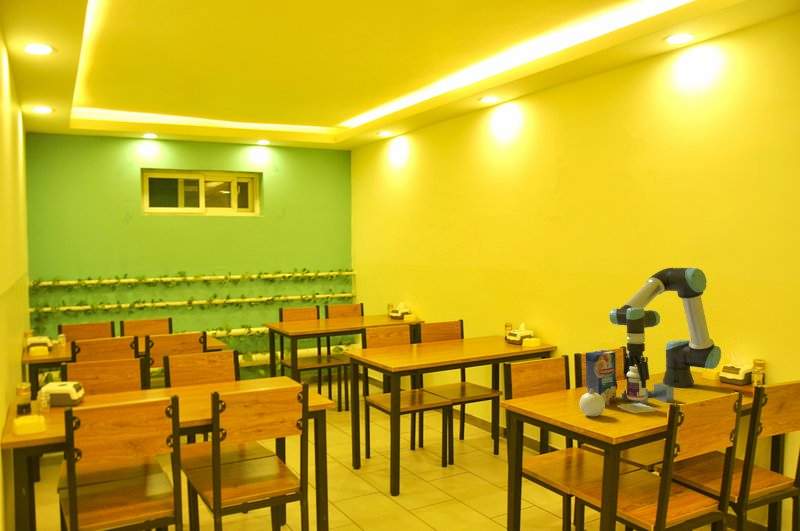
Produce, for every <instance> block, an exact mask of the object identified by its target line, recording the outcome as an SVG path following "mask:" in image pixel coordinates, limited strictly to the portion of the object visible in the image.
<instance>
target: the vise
mask: <svg viewBox="0 0 800 531" xmlns="http://www.w3.org/2000/svg"><path fill="white" fill-rule="evenodd" d="M674 389H675V388H674V387H672V386H669V385H666V384H663V382H662V383H660V382H659V383H658V382H657V383H653V389H652V390H649V389H648V388H646V398H645V399H644V400H631V399H628V398H627V389H623V392H621V399H623V401H624V402H626V401H629V402H631V403H632V404H636V403H641V404H644V405H649V398H653V399H655V400H658V401H660V402H664V403H674V402H675V396H674V395H675V394H674V393H675V392H674V391H675V390H674Z"/></svg>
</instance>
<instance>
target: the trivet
mask: <svg viewBox="0 0 800 531" xmlns="http://www.w3.org/2000/svg"><path fill="white" fill-rule="evenodd" d="M616 407H617V408H618V409H621V410H624V411H625V412H628V413H629V412H630V413H631V414H640V413H649V412H657V410H658V408H655V407H652V406H649V405H648V404H646V405H644V404H641V403H626V404H617V405H616Z"/></svg>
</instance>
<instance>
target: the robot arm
mask: <svg viewBox="0 0 800 531" xmlns="http://www.w3.org/2000/svg"><path fill="white" fill-rule="evenodd" d="M707 283H708V282H707V278H706V274H705V273H704V271H703V270H702V269H700V268H698V267H668V268H667V267H666V268H663V269H661V270H659V271H656V273H654V274H652V275H651V276H650V277H649V278H648V279H647V280H646V281H645V284H644V285H643V286H642V287H641V288H640V289H639V290H638V291H637V292H636V293H635V294H634V295H633V296H631V297H630V299H628V300H627V301H626V302H625V303H624V304H623V305H622V306H621V307H620V308H613V309H611V310H610V312H609V321H610V323H611V324H612V325H618V326H626V341H627V343H626V350H627V351H628V352H626V353H624V361H623V362H624V363H623V364H624V365H623V372H622V373H623V375H625V376H626V377H627V373H628V372H629V371H630V366H637V368H638V372H639V376H640V380H639V395H646V389H647V381H649V380H650V373H649V364H648V362H649V358H648V356H644V352H645V350H646V347H645V346H646V344H645V342H646V338H645V337H646V336H645V335H646V334H645V329H647V328H654V327H656V326H658V325H659V324H660V322H661V316H660V313H658V311H656V310H653V309H652V310H651V309H648V310H645V308H646V307H647V306H648V305H649V304H650V303H651V302H652V301H653V300H654V299H655V298H657V296H660V295H662V294H663V293H664V292H676V293H677V297H678V298H679V299H681V301H682V304H683V308H684V314H685V319H686V324H687V327H688V332H689V337H690V339H689V340H688V339H681V340H680V339H679V340H671V341H668V342H666V344H665V372H664V375H663V378H662V384H666V385H669V386H672V387H675V388H692V387H694V386H695V381H694V378H693V375H692V372H691V367H694V368H701V369H706V370H707V369H711V370H713V369H715V368H717V367H718V366H719V365H720V362H721V358H722V350H721V348H720V347H719V346H718V345H715V341H714V340H713V338H710V333H709V328H708V324H707V320H706V315H705V310H704V305H703V300H702V295H703V294H704V292H705V291H706V288H707Z"/></svg>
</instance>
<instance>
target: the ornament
mask: <svg viewBox="0 0 800 531" xmlns="http://www.w3.org/2000/svg"><path fill="white" fill-rule="evenodd" d="M579 408H580V411H582V413H583V414H584V415H586V416H588V417H591V418H592V417H598V416H601V415H602V414H603V413H604V411H605V409H606V406H605V402H604V399H603V398H602V396H601V395H599V394H597V393H594V391H593V389H590V391H589V393H586V392H585V393H584V394H582V396H581V397H580V400H579Z"/></svg>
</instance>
